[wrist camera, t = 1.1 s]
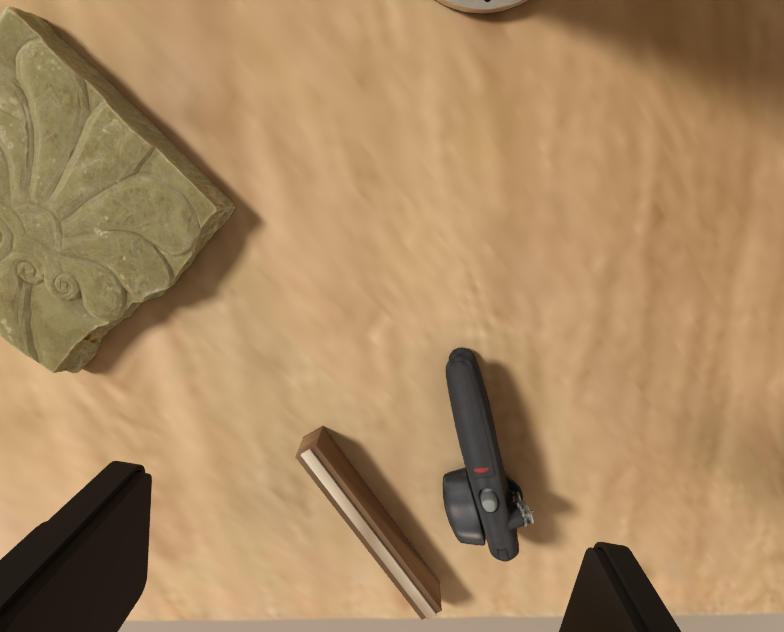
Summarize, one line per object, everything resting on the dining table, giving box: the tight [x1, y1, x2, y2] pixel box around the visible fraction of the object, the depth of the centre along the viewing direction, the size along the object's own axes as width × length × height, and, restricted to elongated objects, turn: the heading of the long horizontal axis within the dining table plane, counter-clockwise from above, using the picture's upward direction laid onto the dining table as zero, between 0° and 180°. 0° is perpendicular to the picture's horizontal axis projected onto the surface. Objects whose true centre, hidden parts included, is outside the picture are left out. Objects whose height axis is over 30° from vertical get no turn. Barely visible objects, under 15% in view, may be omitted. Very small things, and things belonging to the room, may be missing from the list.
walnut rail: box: [296, 426, 442, 620], centre depth 41 cm, size 2×19×3 cm, turn 33°
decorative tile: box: [0, 7, 236, 373], centre depth 35 cm, size 19×20×4 cm
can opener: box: [443, 348, 534, 561], centre depth 38 cm, size 18×7×6 cm, turn 11°
